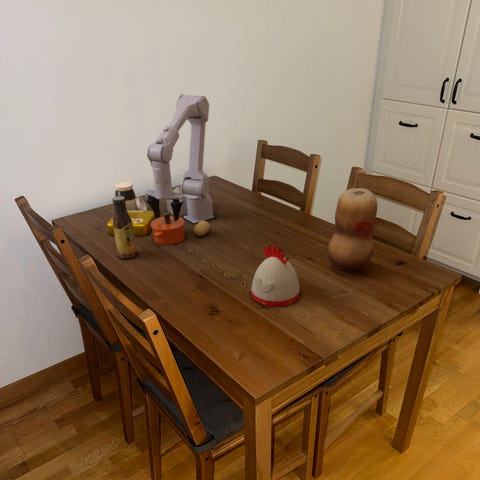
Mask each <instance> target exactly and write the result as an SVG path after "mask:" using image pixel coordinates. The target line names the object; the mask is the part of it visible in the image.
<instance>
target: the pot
mask: <svg viewBox="0 0 480 480" xmlns="http://www.w3.org/2000/svg"><path fill="white" fill-rule="evenodd" d="M151 231H152V238H153V241H154V243H156V244H159V245H164V246H165V245H166V246H167V245H170V246H171V245H175V244H180V243H181V242H183V241H185V239H186V231H185V224H184V225H183V226H182V227H181V228H178V229H175V230H170V231H160V230H155V229H153V228H152V229H151Z"/></svg>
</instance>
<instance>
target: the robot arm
mask: <svg viewBox="0 0 480 480" xmlns="http://www.w3.org/2000/svg"><path fill="white" fill-rule="evenodd" d="M175 107H176V110H175V112H174V114H173V116H172V119H171V121H170V123H169V125H165V126H163V129H162V130H161V132H160V133H159V135H158V137H157V138H156V140H155V142H153V143H151V144H150V145H149V146H148V148H147V153H146V157H147V159H148V161H149V164H150V167H151V168H152V176H153V181H154V182H153V184H154V190H149V189H148V190H146V191H144V197H145V198H147V199H146V203H147V204H148V206H149V207H150V209H151V211H153V213H154V215H155V219H157V218H161V208H160V200H166V199H167V200H173V202H171V203H170V205H171V207H172V210H173V215H172V216H173V217H174V221H177V220H179V218H180V216H179V214H180V209H181V206H182V204H183V202H184V200H185V198H184V195H185V197H186V198H187V209H188V215H183V219H184V220H185V219H186V220H187V221H189V222H191V223H193V224H198V223H199V222H200V221H207V220H211V219H214V218H215V216H214V207H213V199H212V196H211V195H210V194H209V192H210V181H209V180H210V178H209V175H207V174H206V172H205V171H203V170H204V169H203V167H204V155H205V142H206V141H205V139H206V127H207V126H206V125H207V124H206V123H207V122H209V114H210V103H209V101H208V98H207V97H206V95H189V94H188V95H187V94H180V95H179V96H178V98H177V100H176V101H175ZM187 121H188V122H189V124H190V141H189V142H190V143H189V155H188V169H187V170H186V171H185V172H183V174H182V179H181V182H180V187H181V191H182V193H183V194H184V195H182V194H178V193H175V192H172V190H173V184H172V174H171V165H170V162H171V161H172V159H173V153H174V147H175V146H176V144H177V142H178V141H179V138H180V133H179V131H180V129H181V128H182V127H183V126H184V125H185V123H186V122H187Z"/></svg>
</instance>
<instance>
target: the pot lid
mask: <svg viewBox="0 0 480 480" xmlns="http://www.w3.org/2000/svg"><path fill="white" fill-rule="evenodd" d="M185 224H186V223H185V219H184V218H182V217H179V220H177V221H174V217H173V215H171V213H170V212H163V216H160V217H159V218H155V220H153V221H152V222H151V227H152V228H153V229H155V230H160V231H170V230H175V229H178V228H181V227H182V226H183V225H184V226H185Z"/></svg>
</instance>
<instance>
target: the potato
mask: <svg viewBox="0 0 480 480" xmlns="http://www.w3.org/2000/svg"><path fill="white" fill-rule="evenodd" d="M210 227H211V226H210V224H209V223H208V221H207V220H204V221H200V222H198V223H196V224H195V225H194V227H193V231H194V234H195V235H196V236H198V237H203V236H205V235H206V234H207V233H209V231H210Z"/></svg>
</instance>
